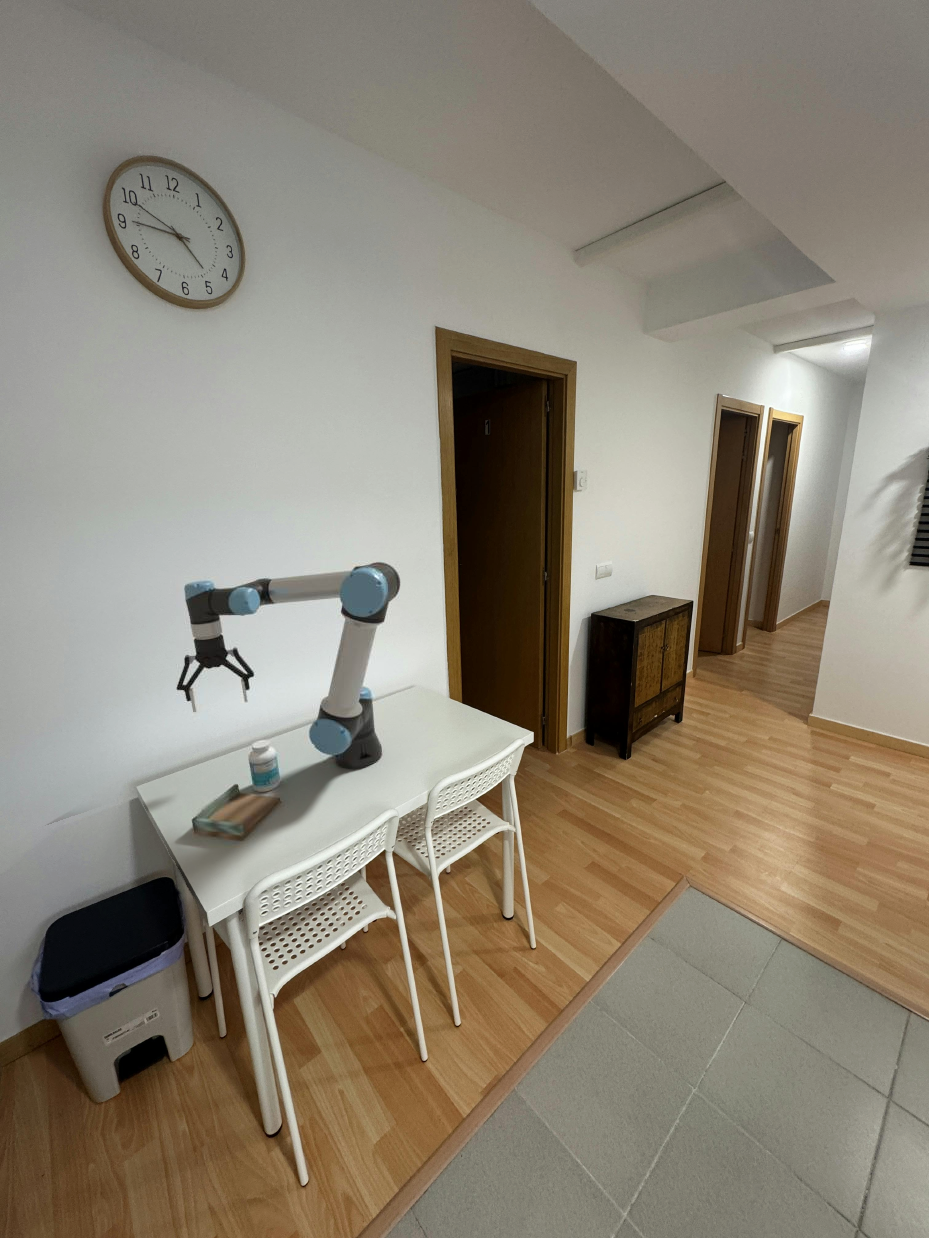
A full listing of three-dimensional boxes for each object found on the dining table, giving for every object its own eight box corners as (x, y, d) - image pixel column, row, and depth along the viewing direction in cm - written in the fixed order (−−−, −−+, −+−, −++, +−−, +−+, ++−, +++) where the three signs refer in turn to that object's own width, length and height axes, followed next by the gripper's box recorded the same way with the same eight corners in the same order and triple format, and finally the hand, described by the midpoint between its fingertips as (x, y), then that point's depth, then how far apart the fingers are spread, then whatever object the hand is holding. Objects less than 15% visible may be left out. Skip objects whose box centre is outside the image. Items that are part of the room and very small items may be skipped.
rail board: (281, 802, 136) (279, 789, 135) (242, 840, 121) (239, 826, 120) (237, 796, 140) (235, 783, 139) (194, 833, 125) (191, 819, 124)
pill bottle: (258, 779, 148) (251, 738, 145) (283, 777, 149) (277, 736, 145) (249, 794, 141) (242, 750, 137) (276, 792, 141) (270, 748, 138)
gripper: (254, 626, 149) (265, 692, 154) (159, 640, 140) (174, 710, 145) (255, 631, 143) (267, 700, 148) (155, 646, 133) (171, 719, 138)
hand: (221, 705), depth 146 cm, fingers open, 13 cm apart
